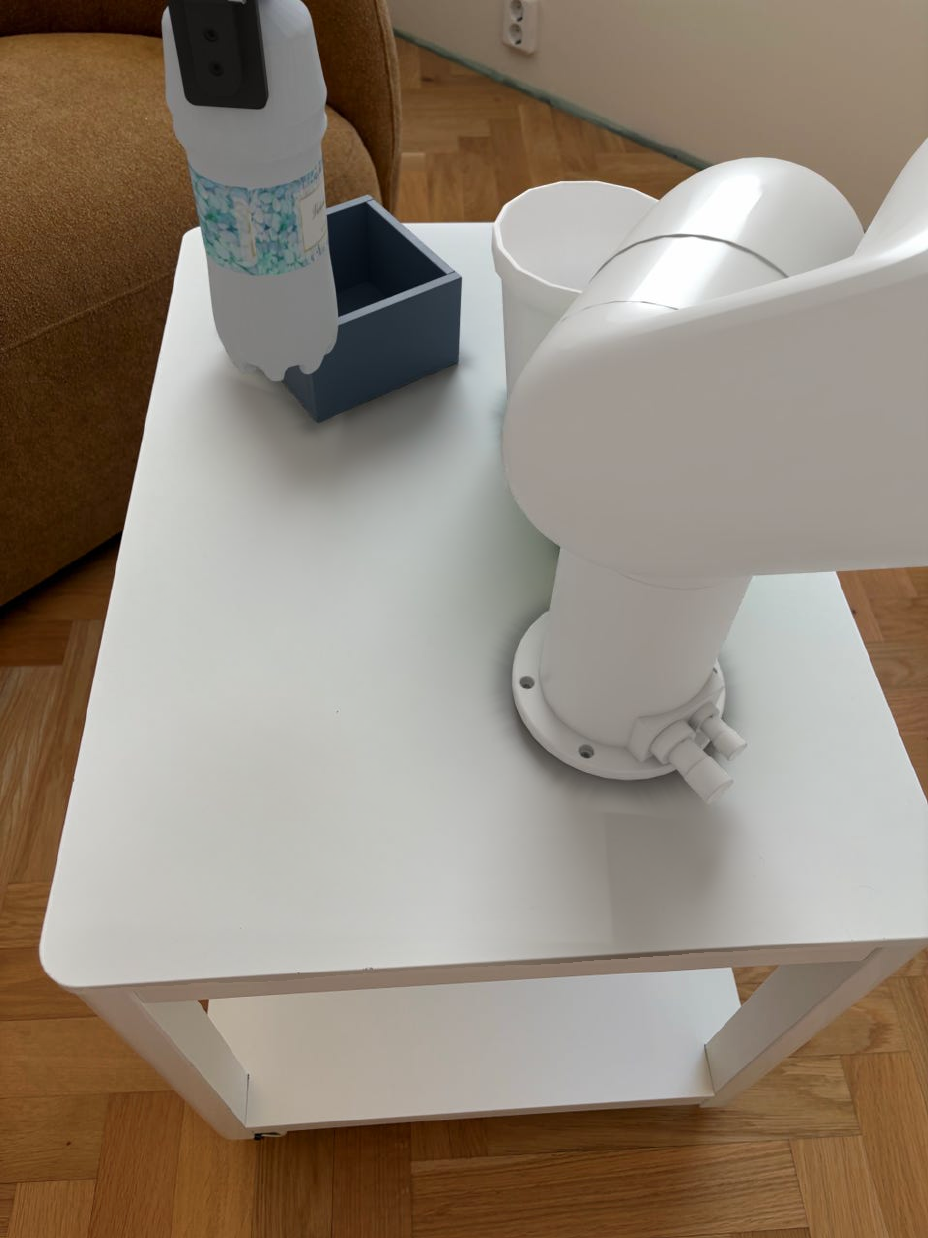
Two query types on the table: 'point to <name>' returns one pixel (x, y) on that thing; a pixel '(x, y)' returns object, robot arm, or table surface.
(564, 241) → the cup
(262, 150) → the bottle
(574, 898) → the table surface
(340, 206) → the bin
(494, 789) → the table surface
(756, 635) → the table surface
